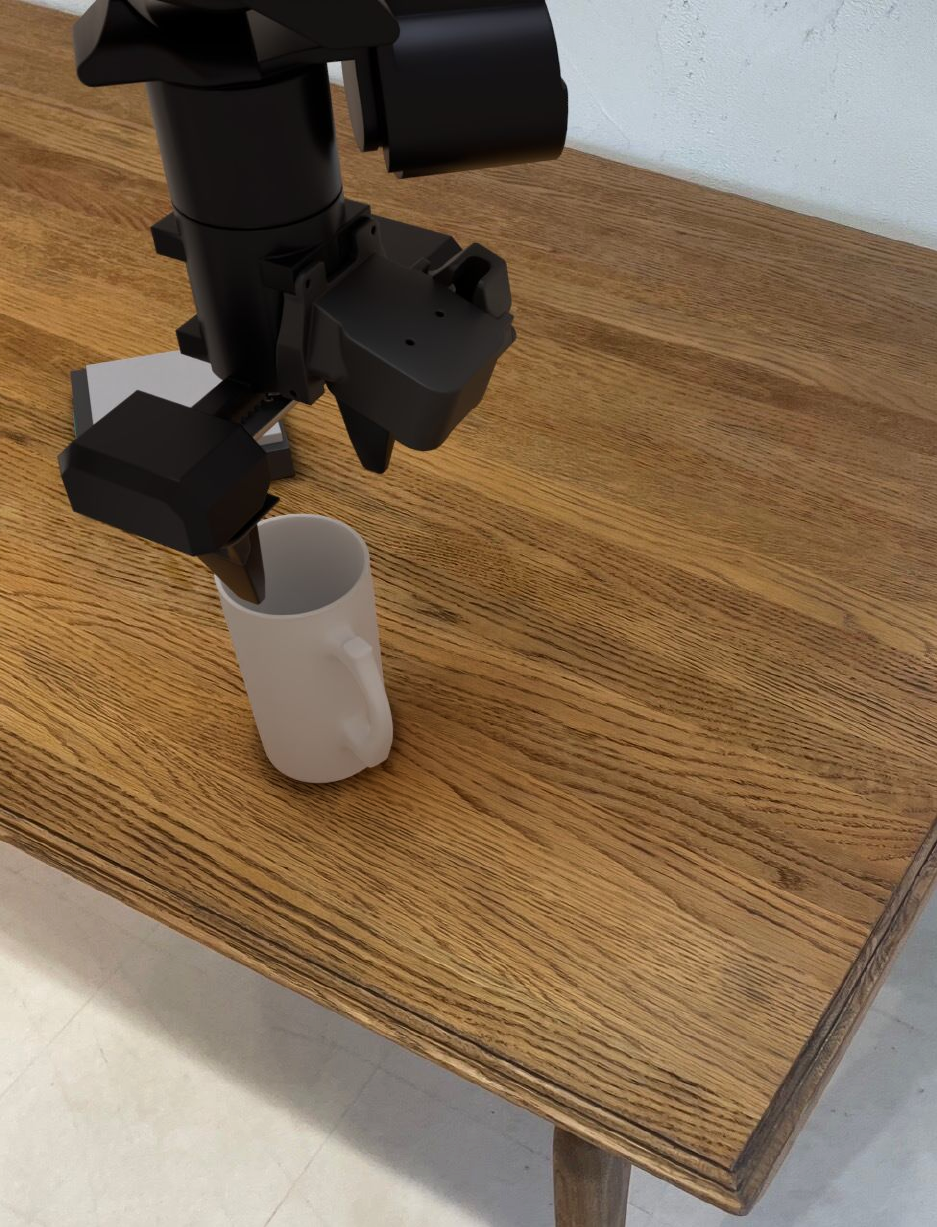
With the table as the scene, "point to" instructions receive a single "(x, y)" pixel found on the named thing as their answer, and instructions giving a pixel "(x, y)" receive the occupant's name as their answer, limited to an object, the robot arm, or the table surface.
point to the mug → (313, 650)
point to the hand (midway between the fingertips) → (317, 531)
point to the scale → (160, 394)
